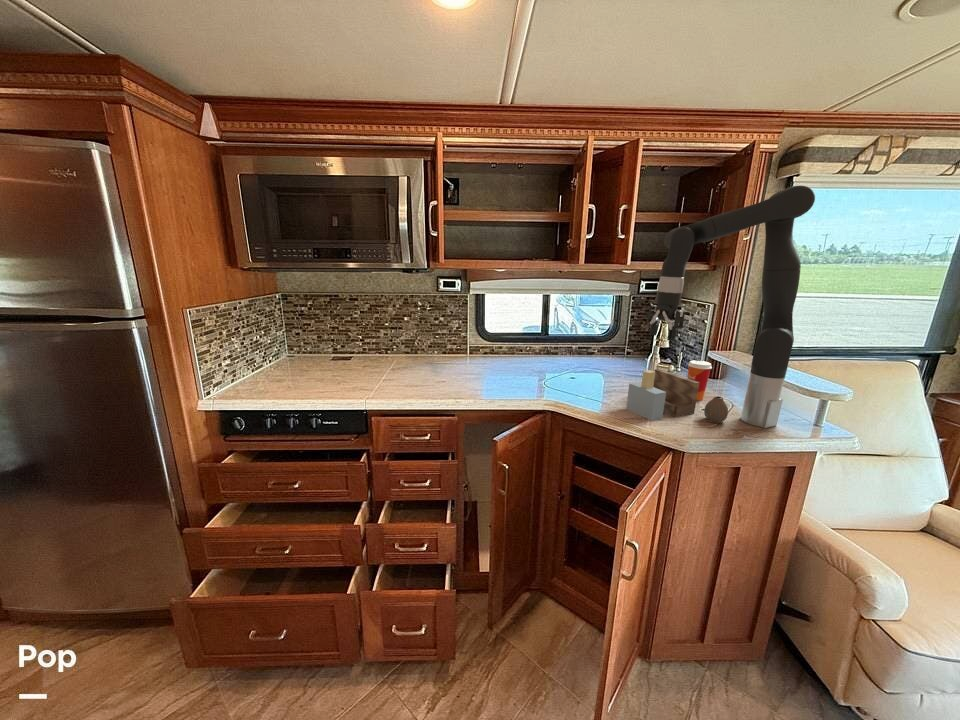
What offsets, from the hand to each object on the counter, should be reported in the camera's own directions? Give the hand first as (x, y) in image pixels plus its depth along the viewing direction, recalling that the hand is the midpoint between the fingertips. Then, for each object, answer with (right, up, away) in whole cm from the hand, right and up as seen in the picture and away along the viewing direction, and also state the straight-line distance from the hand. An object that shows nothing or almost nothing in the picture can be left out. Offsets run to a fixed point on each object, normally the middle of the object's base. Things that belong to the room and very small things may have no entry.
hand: (661, 337), depth 126 cm
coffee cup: (+24, -23, +21) cm, 40 cm away
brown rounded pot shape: (+19, -29, 0) cm, 35 cm away
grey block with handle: (-3, -27, +6) cm, 28 cm away
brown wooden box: (+7, -26, +12) cm, 29 cm away
